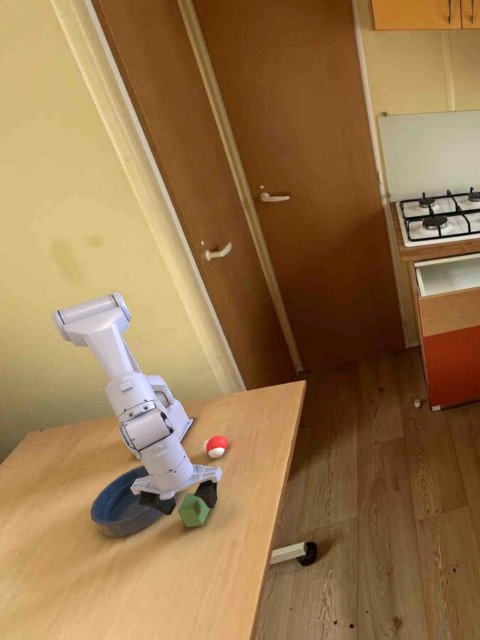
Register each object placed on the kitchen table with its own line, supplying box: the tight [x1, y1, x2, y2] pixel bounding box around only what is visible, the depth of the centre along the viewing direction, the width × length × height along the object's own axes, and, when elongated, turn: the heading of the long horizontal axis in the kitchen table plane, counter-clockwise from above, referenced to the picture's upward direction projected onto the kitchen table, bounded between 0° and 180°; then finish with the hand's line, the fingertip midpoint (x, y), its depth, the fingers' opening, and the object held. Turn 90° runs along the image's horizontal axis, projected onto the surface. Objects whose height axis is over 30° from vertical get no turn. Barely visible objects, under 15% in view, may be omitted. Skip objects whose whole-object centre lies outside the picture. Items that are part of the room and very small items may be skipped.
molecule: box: [202, 435, 229, 459], centre depth 98 cm, size 5×5×4 cm
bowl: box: [89, 464, 180, 538], centre depth 87 cm, size 13×13×4 cm
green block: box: [177, 492, 211, 528], centre depth 85 cm, size 4×3×6 cm
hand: (192, 506), depth 84 cm, fingers open, 7 cm apart
